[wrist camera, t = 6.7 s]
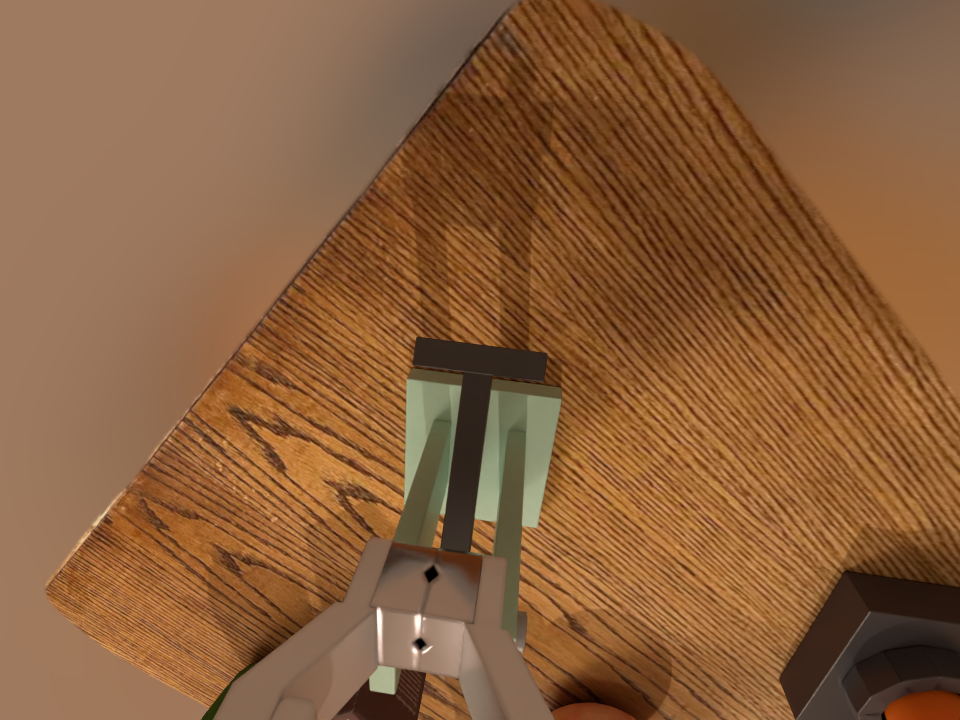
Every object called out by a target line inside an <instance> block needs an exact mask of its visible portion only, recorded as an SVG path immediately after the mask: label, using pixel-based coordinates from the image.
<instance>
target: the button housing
mask: <svg viewBox="0 0 960 720" xmlns="http://www.w3.org/2000/svg"><path fill="white" fill-rule="evenodd" d="M779 680H780V683H781V685H782V688H783V690H784V693H785V695H786V698H787V700H788V703H789V705H790V708H791V710H792V713H793V715H794V717H795V720H887V719H886V717H885V714H884V710H885V709H886V708H887V707H888V705H889V704H890V703H891V702H893V701H895V700H898V699H900V698H902V697H904V696H907V695H909V694H911V693H916V692H924V691H932V690H940V691H946V692H953V693H956V694H958V695H959V696H960V588H954V587H948V586H941V585H934V584H927V583H920V582H913V581H907V580H900V579H893V578H886V577H879V576H872V575H865V574H859V573H852V572H845V573H844V574H843V576H842V578H841V579H840V581H839V582H838V584H837V586H836V587H835V589H834V591H833V592H832V594H831V596H830V597H829V599H828V600H827V602H826V604H825V605H824V607H823V609H822V610H821V612H820V613H819V615H818V617H817V618H816V620H815V622H814V623H813V625H812V627H811V628H810V630H809V631H808V633H807V635H806V636H805V638H804V640H803V641H802V643H801V644H800V646H799V648H798V649H797V651H796V653H795V654H794V656H793V658H792V659H791V661H790V662H789V664H788V666H787V667H786V669H785V671H784V672H783V674H782V675H781V677H780V679H779Z"/></svg>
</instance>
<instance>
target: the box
mask: <svg viewBox="0 0 960 720" xmlns="http://www.w3.org/2000/svg"><path fill="white" fill-rule="evenodd" d="M425 677H426V673H425V672H419V671H413V670H407V669H401V674H400V678H399V682H398V686H397V690H396V693H395V694H387V693H381V692H375V691H371V690H370V684H369V679H368V680H367V681H366V682H365V683H364V684H363V685H362V686H361V687H360V689H359V690H358V691H357V692H356V693H355V694H354V695H353V696H352V697H351V698H350V700H349V701H348V702H347V703H346V704H345V705H344V706H343V707H342V708H341V710H340V711H339V712H338V713H337V714H336V715H335V716H334V717H333V718H332V719H331V720H417V719H418V714H419V709H420V704H421V699H422V693H423V688H424V682H425Z"/></svg>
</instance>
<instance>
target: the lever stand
mask: <svg viewBox="0 0 960 720" xmlns="http://www.w3.org/2000/svg"><path fill="white" fill-rule="evenodd" d="M462 379H463V375H461V374H454V373H446V372H438V371H431V370H423V369H415V368H412V369H411V371H410V373H409V376H408V378H407V393H406V440H405V487H404V509H403V512H402V515H401V518H400V521H399V523H398V526H397V529H396V532H395V535H394V538H393V540H395V541H400V542H406V543H411V544H417V545H422V546H427V547H432V544H433V540H434V536H435V532H436V528H437V524H438V520H439V516H440V514H445V509H446V502H447V494H448V486H449V479H450V471H451V463H452V456H453V448H454V441H455V433H456V425H457V418H458V410H459V402H460V395H461V387H462ZM561 402H562V392H561V387H554V386H546V385H538V384H531V383H523V382H515V381H508V380H500V379H492V387H491V395H490V402H489V410H488V418H487V426H486V433H485V441H484V449H483V457H482V464H481V472H480V480H479V488H478V496H477V503H476V511H475V519H479V520H486V521H493V522H496V527H495V536H494V545H493V554H492V556H496V557H502V558H507V570H506V582H505V593H504V604H503V616H502V627H501V629H504V630H508V631H509V633H510V634H511V636H512V638H513V640H514V642H515V644H516V646H517V648H518V650H519V652H520V653H521V654H522V653H523V652H524V648H525V642H526V632H527V613H526V612H522V611H518V595H519V575H520V555H521V535H522V526H527V527H534V528H537V527H538V523H539V517H540V512H541V507H542V502H543V496H544V491H545V486H546V481H547V475H548V470H549V465H550V460H551V454H552V449H553V444H554V439H555V433H556V428H557V423H558V418H559V412H560V407H561ZM400 674H401V669H400V668H393V667H386V666H379V665H378V669H377V670H376V671H375V672H374V673H373V674H372V675H371V676H370V677H369V684H370V690H371V691H375V692H381V693H387V694H395V693H396V690H397V686H398V682H399V678H400Z"/></svg>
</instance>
